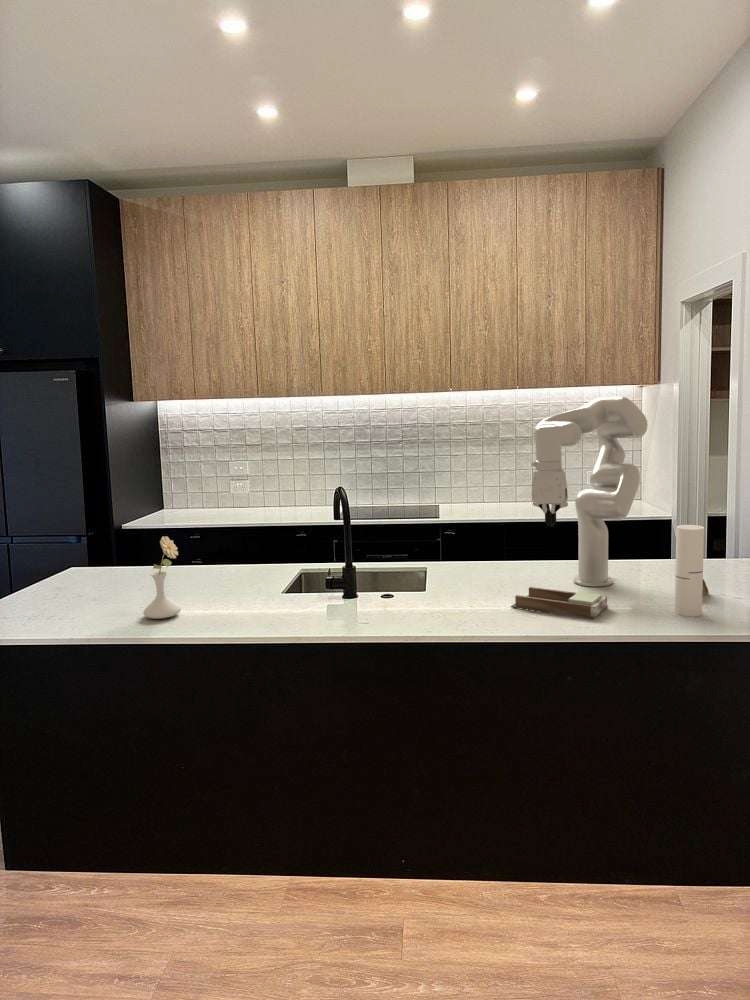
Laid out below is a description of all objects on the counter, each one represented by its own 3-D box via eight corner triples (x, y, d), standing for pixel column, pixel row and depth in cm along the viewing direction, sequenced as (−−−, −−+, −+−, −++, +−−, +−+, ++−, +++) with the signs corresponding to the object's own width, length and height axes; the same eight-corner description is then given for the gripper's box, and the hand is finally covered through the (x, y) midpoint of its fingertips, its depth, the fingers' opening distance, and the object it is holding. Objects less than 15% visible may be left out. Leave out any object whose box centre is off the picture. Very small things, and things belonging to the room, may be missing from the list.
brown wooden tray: (528, 596, 228) (527, 585, 227) (607, 607, 214) (608, 595, 213) (511, 607, 217) (510, 596, 217) (593, 619, 203) (594, 607, 203)
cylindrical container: (704, 616, 202) (706, 529, 198) (677, 616, 203) (679, 529, 200) (698, 608, 209) (700, 524, 205) (672, 608, 210) (674, 524, 206)
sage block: (578, 603, 216) (578, 591, 216) (601, 606, 212) (601, 594, 212) (568, 610, 210) (568, 598, 209) (592, 614, 206) (592, 602, 205)
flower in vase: (161, 624, 217) (153, 543, 213) (135, 619, 223) (128, 540, 219) (193, 611, 228) (186, 534, 224) (168, 607, 234) (161, 532, 230)
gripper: (520, 467, 217) (523, 526, 220) (569, 468, 209) (570, 529, 212) (529, 463, 223) (532, 521, 226) (577, 464, 215) (578, 524, 218)
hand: (550, 525), depth 219 cm, fingers closed
